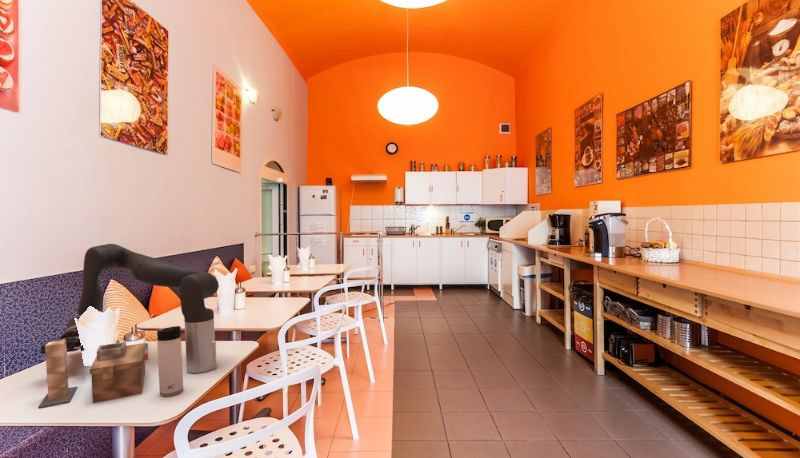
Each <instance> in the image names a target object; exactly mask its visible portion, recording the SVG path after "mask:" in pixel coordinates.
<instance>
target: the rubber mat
mask: <svg viewBox="0 0 800 458" xmlns="http://www.w3.org/2000/svg"><path fill="white" fill-rule="evenodd" d="M68 388H69V392H68V394H67V396H66V397H63V398H58V399H52V400H48V392H47V393H46V395H45V396H44V397H43V399H42V401H41V402H40V404H39V405H38V407H37V409H38V408H39V409H45V408H50V407H54V406H60V405H65V404H70V403H71V402H72V399H73V397H74V396H75V394H76V391H77V390H78V388H79V387H78V386H73V387H72V386H71V387H68Z"/></svg>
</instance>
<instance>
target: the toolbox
mask: <svg viewBox="0 0 800 458" xmlns="http://www.w3.org/2000/svg"><path fill="white" fill-rule="evenodd" d="M145 343H146V342H142V343H135V344H130V345H129V344H128V345H127V342H126V341H124V342H123V341H122V342H116V343H110V344H101V345H99V347H98V349H97V351H96V357H95V359H94V361H93V362H92V364H91V366H90V368H89V375H91V393H92V394H91V395H92V404H96V403H100V402H101V403H102V402H106V401H110V400H111V401H112V400H116V399H122V398H127V397H132V396H137V395H142V394H143V389H144V384H145V378H146V377H145V376H146V361H145V353H144V351H145Z"/></svg>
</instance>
